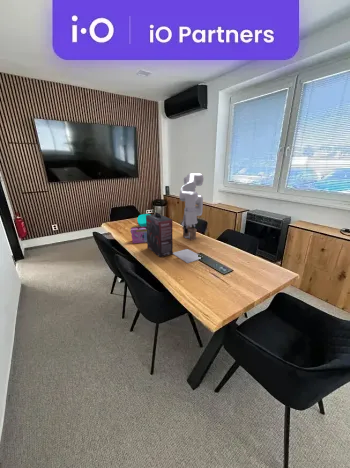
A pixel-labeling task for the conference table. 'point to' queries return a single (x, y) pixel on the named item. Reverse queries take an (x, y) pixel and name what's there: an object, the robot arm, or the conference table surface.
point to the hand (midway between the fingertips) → (189, 232)
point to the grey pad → (187, 255)
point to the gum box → (139, 234)
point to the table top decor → (142, 220)
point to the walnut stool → (192, 232)
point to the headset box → (159, 234)
